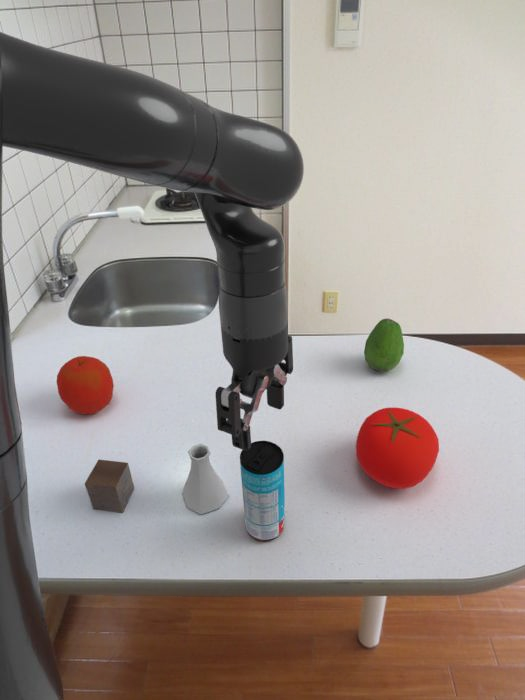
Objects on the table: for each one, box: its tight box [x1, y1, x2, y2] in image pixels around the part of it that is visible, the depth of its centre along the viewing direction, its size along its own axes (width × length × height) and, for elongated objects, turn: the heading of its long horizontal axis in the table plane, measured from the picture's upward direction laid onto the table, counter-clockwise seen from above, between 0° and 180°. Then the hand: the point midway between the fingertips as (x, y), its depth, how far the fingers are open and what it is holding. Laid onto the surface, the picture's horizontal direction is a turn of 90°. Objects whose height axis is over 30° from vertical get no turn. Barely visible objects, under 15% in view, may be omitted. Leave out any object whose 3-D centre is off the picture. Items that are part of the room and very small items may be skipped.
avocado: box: [363, 317, 405, 372], centre depth 107 cm, size 8×8×12 cm
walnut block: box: [84, 459, 135, 514], centre depth 83 cm, size 5×5×6 cm
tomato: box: [355, 407, 440, 489], centre depth 84 cm, size 14×13×10 cm
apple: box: [56, 355, 115, 415], centre depth 100 cm, size 10×10×12 cm
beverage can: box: [239, 440, 286, 542], centre depth 75 cm, size 6×6×15 cm
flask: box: [181, 443, 230, 515], centre depth 81 cm, size 7×7×10 cm
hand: (259, 426), depth 67 cm, fingers open, 8 cm apart
